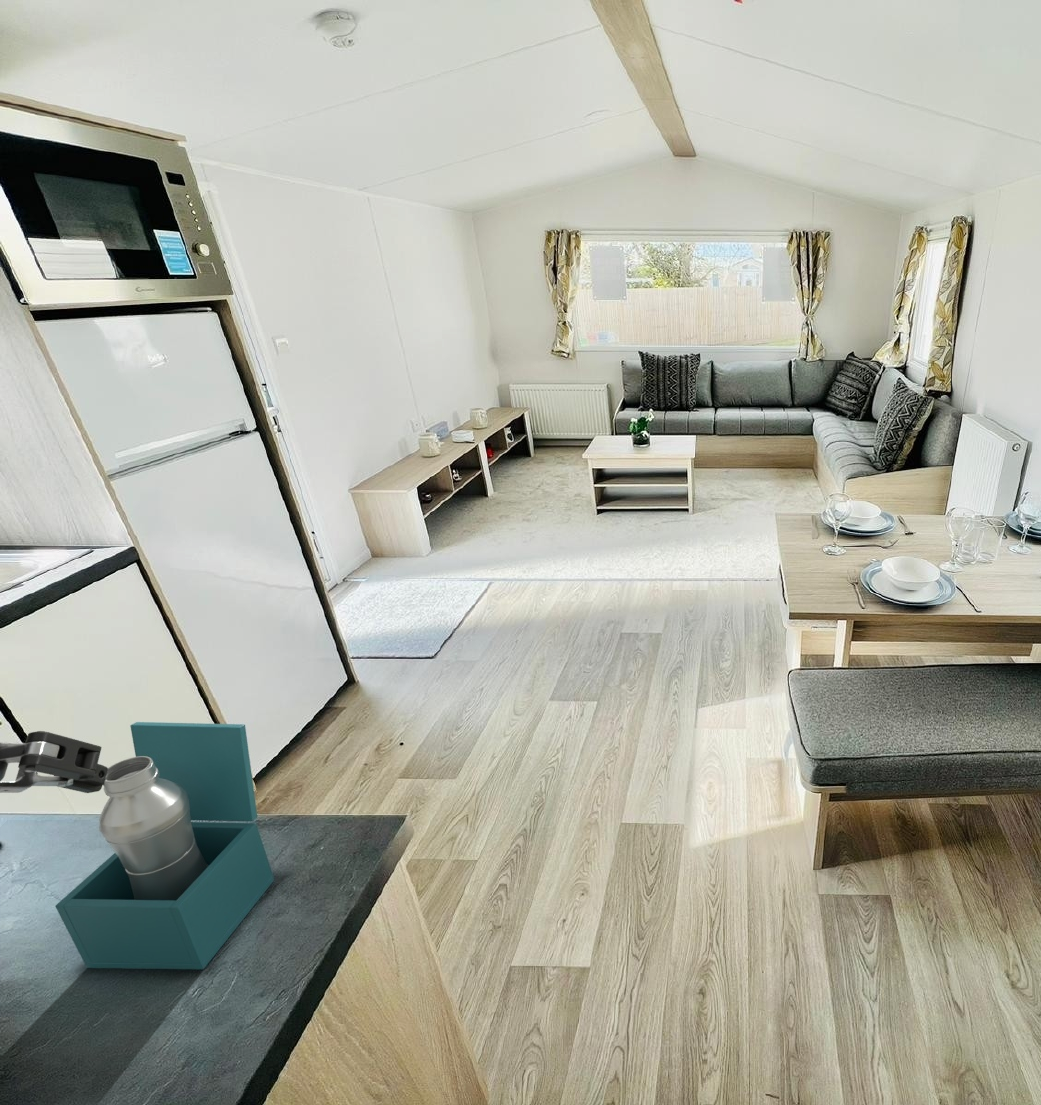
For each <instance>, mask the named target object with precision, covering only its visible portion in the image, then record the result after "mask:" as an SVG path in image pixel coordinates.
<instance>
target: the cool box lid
mask: <svg viewBox="0 0 1041 1105" xmlns="http://www.w3.org/2000/svg"><path fill="white" fill-rule="evenodd" d="M129 726H130V732H131V738H132V743H133V749H134V755H135V757H139V756H147V757H150V758H151V759H152V760H153V763H154V765H155V767H156V768H157V769H158V771H159V773H160V774H159V777H158V778H161V779H165V780H169V781H171V782H174V783H176V784H178V785H180V786H181V787H182V788H183V789H184V790H185V791H186V793H187V795H188V800H189V808H190V817H191V821H201V822H253V821H255V820H256V819H258V811H257V802H256V795H255V789H254V780H253V773H252V765H251V760H250V759H251V758H250V751H249V745H248V738H247V729H246V724H245V723H244V724H240V723H239V724H238V723H236V724H235V723H201V722H200V723H198V722H197V723H194V722H193V723H192V722H151V721H150V722H149V721H135V722H134V723H131V724H130V725H129Z"/></svg>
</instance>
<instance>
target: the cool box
mask: <svg viewBox="0 0 1041 1105" xmlns="http://www.w3.org/2000/svg"><path fill="white" fill-rule="evenodd" d="M191 825H192V829H193V833H194V838H195V840H196V844H197V847H198V849H199V851H200V853H201V854H202V856H203V858H204V860H205V862H206V864H207V865H208V867H207V868H206V869H205V870H204V872H203V873H202V874H201V875H200V876H199V877H198V878H197V879H196V880H195V881H194V882H193V883H192V884H191V885H190V887H189V888H188V889H187V890H186V891H185V892H184V893H183V894H182V895H181V896H180V897H179V898H178V899H177V900H176V901H172V900H134V895H133V891H132V887H131V883H130V879H129V876H128V874H127V872H126V870H125V868H124V867H123V865H122V863H121V861H120V859H119V857H118V856H117V854H116V853H115V852H114V853H113V854H112V855H111V856H110V857H109V858H107V859H106V860H105V861H104V862H103V863H102V864H101V865H99V866H98V867H97V868H96V869H95V870H94V871H92V872H91V874H89V875H88V876H87V877H86V878H85V879H83V881H81V882H80V883H79V884H78V885H76V886H75V887H74V888H73V889H72V890H71V891H70V892H69V893H68V894H67V895H65V896H64V897H63V898H62V899H61V900H60V901H59V902H58V903H56V904H55V910H57V913H58V914H59V916H60V918H61V920H62V922H63V924H64V926H65V928H66V930H67V932H68V934H69V936H70V939H71V940H72V942H73V943H74V946H75V948H76V950H77V952H78V953H79V955H80V957H81V959H82V961H83V963H84V966H85V967H86V968H87V969H132V970H133V969H137V970H139V969H141V970H142V969H143V970H205V968H206V967H207V966H208V964H209V963H210V962H211V960H212V959H213V958H214V957H215V956H216V955H217V953H218V952H219V951H220V950H221V948H222V947H223V946H224V944H225V943H226V941H228V939H229V938H230V937H231V936H232V934H233V933H234V932H235V931H236V929H237V928H238V927H239V925H240V924H241V923H242V922H243V920H245V918H246V917H247V915H248V914H249V913H250V912H251V910H252V909H253V908H254V907H255V905H256V904H257V903H258V902H259V900H260V899H261V898H262V897H263V895H265V893H266V891H267V890H268V889H269V888H270V886H271V885H272V884H273V882H275V877H274V874H273V871H272V868H271V865H270V862H269V859H268V855H267V852H266V848H265V846H264V843H263V840H262V837H261V834H260V830H259V828H258V824H257V822H231V821H191Z"/></svg>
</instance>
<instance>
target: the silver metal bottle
mask: <svg viewBox="0 0 1041 1105" xmlns="http://www.w3.org/2000/svg"><path fill="white" fill-rule="evenodd" d="M107 768H108V770H107V774H106V779H105V783H104V785H102V787H103V792H104V794H105V795H106V796H107V797H109V798H108V799H107V801H106V802H105V805H104V806H103V808H102V811H101V813H100V816H99V819H98V820H99V821H98V830H99V832H100V834H101V836H102V837H103V839H104V840H105V842H106V843H107V844H108V845H109V847H110V848H111V849H112V851H113V852H114V853H116V854H117V856H118V857H119V859H120V861H121V863H122V865H123V867H124V868H125V870H126V872H127V874H128V876H129V879H130V883H131V887H132V891H133V895H134V900H172V901H176V900H177V899H178V898H179V897H180V896H181V895H182V894H183V893H184V892H185V891H186V890H187V889H188V888H189V887H190V885H191V884H192V883H193V882H194V881H195V880H196V879H197V878H198V877H199V876H200V875H201V874H202V873H203V872H204V870H205V869H206V868H207V867H208V865H207V864H206V862H205V860H204V858H203V856H202V854H201V853H200V851H199V849H198V847H197V844H196V840H195V838H194V833H193V829H192V825H191V822H192V820H191V817H190V808H189V800H188V795H187V793H186V791H185V790H184V789H183V788H182V787H181V786H180V785H178V784H176V783H174V782H171V781H169V780H165V779H161V778H158V777H159V774H160V773H159V771H158V769H157V768H156V767H155V765H154V763H153V760H152V759H151V758H150V757H147V756H139V757H136V756H133V757H129V758H125V759H123V760H120V761H118V762H116V763H114V764H112V765H110V766H108V767H107Z"/></svg>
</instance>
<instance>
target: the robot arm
mask: <svg viewBox="0 0 1041 1105" xmlns="http://www.w3.org/2000/svg"><path fill="white" fill-rule="evenodd" d="M101 752H102V746H101V745H98V744H97V745H96V744H93V743H90V742H87V741H83V740H79V739H75V738H72V737H68V736H64V735H61V734H58V733H53V732H49V731H44V730H37V731H31V732H29V733H27V736H26V738H25V742H8V741H7V742H6V741H5V742H4V741H0V794H2V793H3V794H4V793H5V794H10V793H11V794H13V793H14V794H18V793H22V792H24V791H26V790H28V789H29V788H32V787H58V788H62V789H66V790H70V791H71V790H72V791H75V792H80V793H84V794H91V793H98V792H100V791H101V790H102V789H103V785H104V783H105V779H106V774H107V770H108V768H109V767H108V766H105V765H103V764H100V763H99V759H100V755H101ZM16 763H17V764H18V766H17V768H18V770H17V774H16V777H15V780H14V781H10V780H9V781H7V780H6V781H2V780H3V779H4V778H5V776H6V773H7V770H8V766H9V764H16ZM38 773H41V774H46V775H39V774H38Z"/></svg>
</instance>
